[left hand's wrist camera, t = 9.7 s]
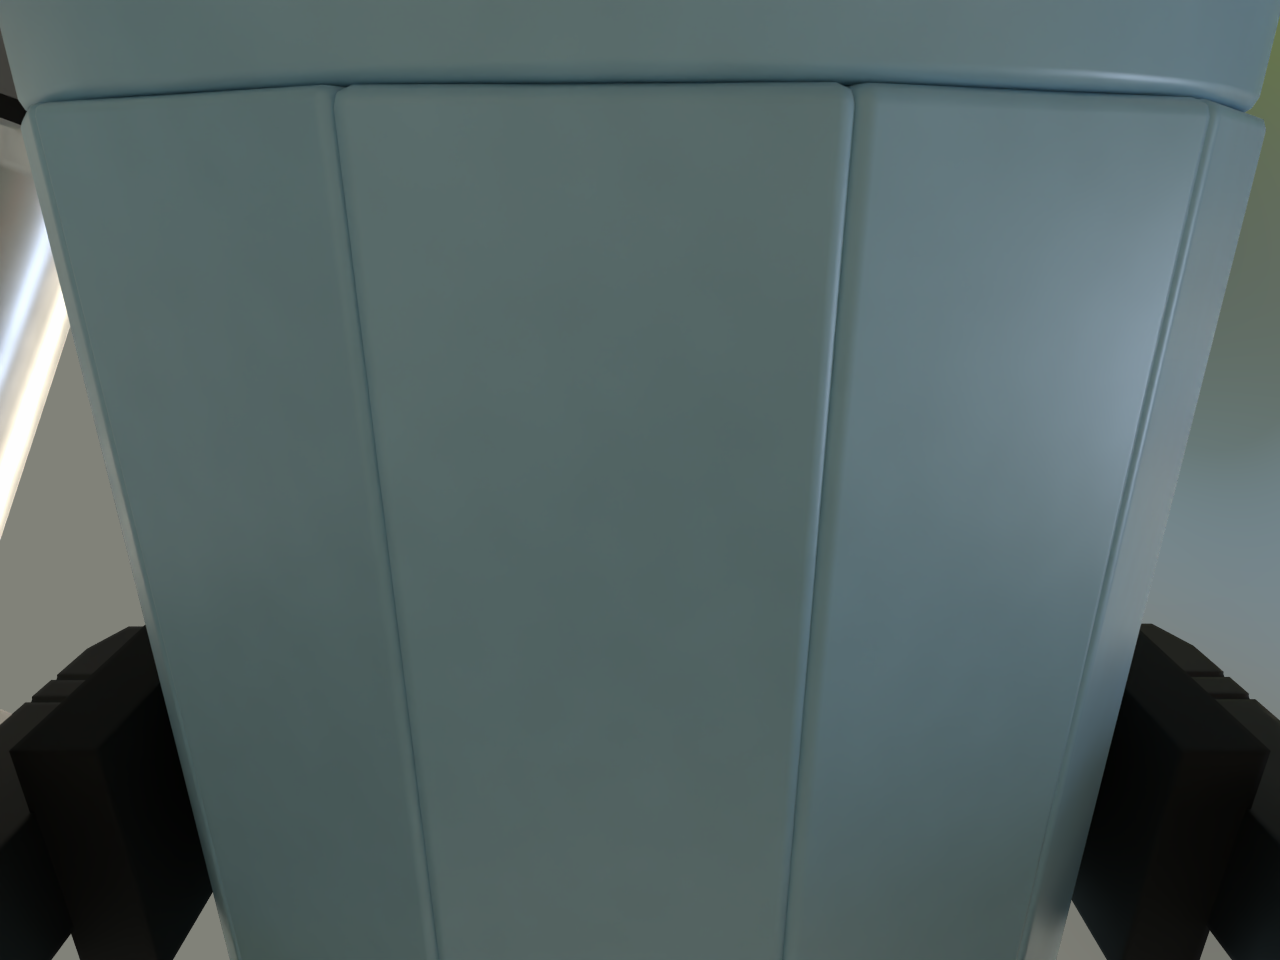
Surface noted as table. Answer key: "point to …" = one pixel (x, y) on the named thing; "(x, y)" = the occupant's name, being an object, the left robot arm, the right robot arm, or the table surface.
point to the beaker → (642, 444)
